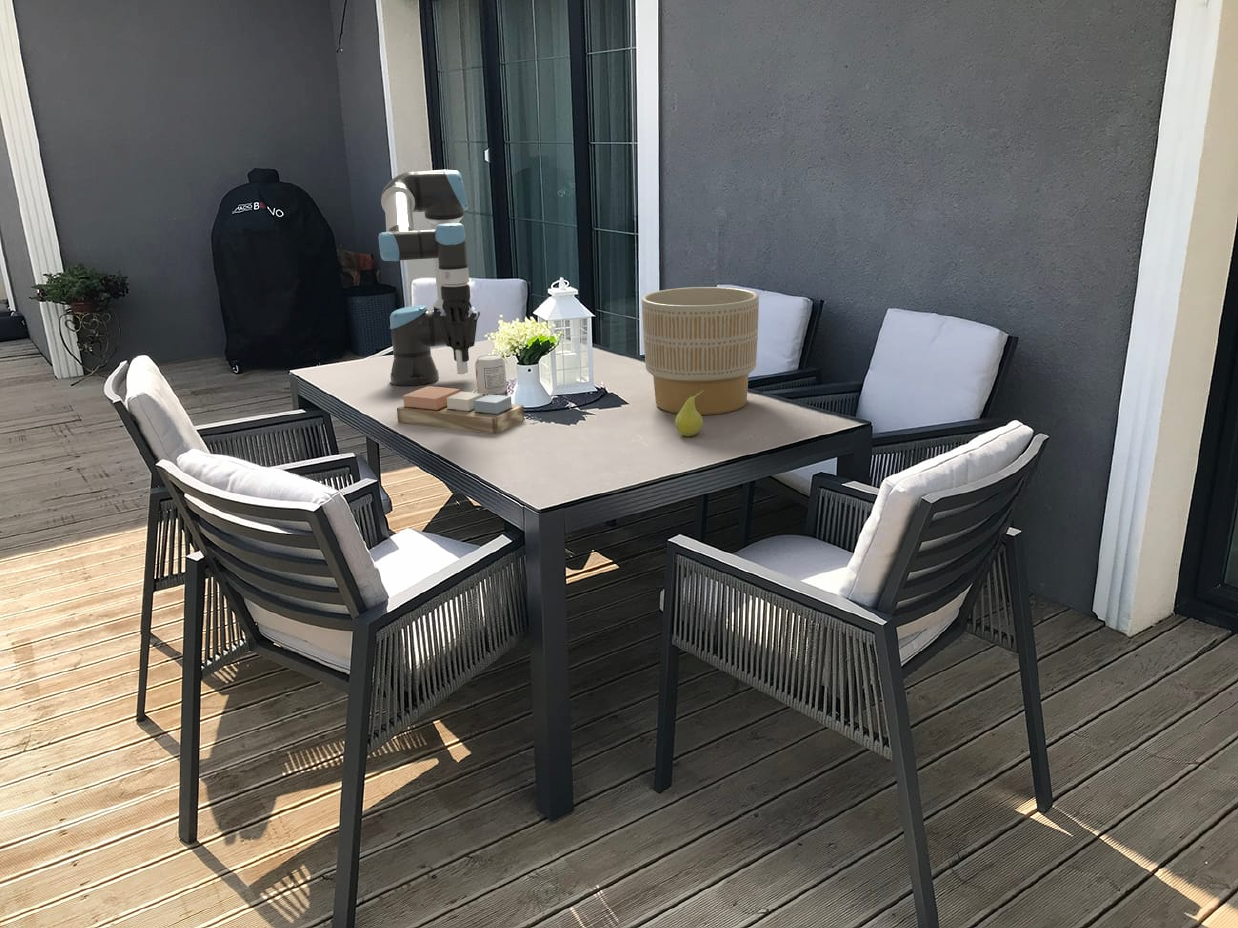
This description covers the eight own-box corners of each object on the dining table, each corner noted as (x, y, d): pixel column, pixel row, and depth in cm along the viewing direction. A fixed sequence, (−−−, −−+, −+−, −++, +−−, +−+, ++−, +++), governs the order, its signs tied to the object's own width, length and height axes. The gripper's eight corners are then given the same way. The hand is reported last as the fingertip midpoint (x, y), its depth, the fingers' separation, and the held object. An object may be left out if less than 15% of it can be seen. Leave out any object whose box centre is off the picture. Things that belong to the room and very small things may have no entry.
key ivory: (463, 407, 274) (461, 391, 273) (484, 409, 271) (482, 393, 270) (448, 413, 269) (446, 397, 267) (469, 416, 265) (468, 399, 264)
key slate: (490, 410, 270) (489, 394, 269) (512, 412, 267) (510, 396, 266) (475, 417, 265) (474, 400, 263) (497, 419, 262) (496, 402, 260)
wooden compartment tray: (429, 409, 285) (427, 395, 283) (524, 419, 271) (523, 405, 269) (398, 422, 273) (396, 408, 272) (495, 433, 259) (494, 419, 258)
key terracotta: (429, 401, 282) (427, 386, 280) (461, 404, 277) (459, 389, 276) (404, 411, 273) (403, 395, 271) (437, 415, 268) (435, 399, 266)
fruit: (675, 432, 255) (674, 386, 251) (704, 431, 254) (704, 385, 250) (675, 439, 248) (674, 393, 244) (706, 439, 248) (705, 392, 244)
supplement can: (474, 412, 280) (469, 360, 275) (487, 404, 287) (483, 353, 282) (500, 414, 277) (495, 361, 272) (513, 406, 284) (509, 355, 279)
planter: (655, 388, 297) (652, 287, 288) (761, 390, 291) (762, 286, 281) (635, 418, 268) (631, 306, 259) (753, 420, 262) (754, 305, 252)
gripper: (425, 285, 259) (434, 374, 266) (467, 287, 253) (474, 378, 260) (443, 281, 265) (451, 368, 272) (483, 283, 259) (490, 371, 267)
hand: (462, 373), depth 266 cm, fingers closed
